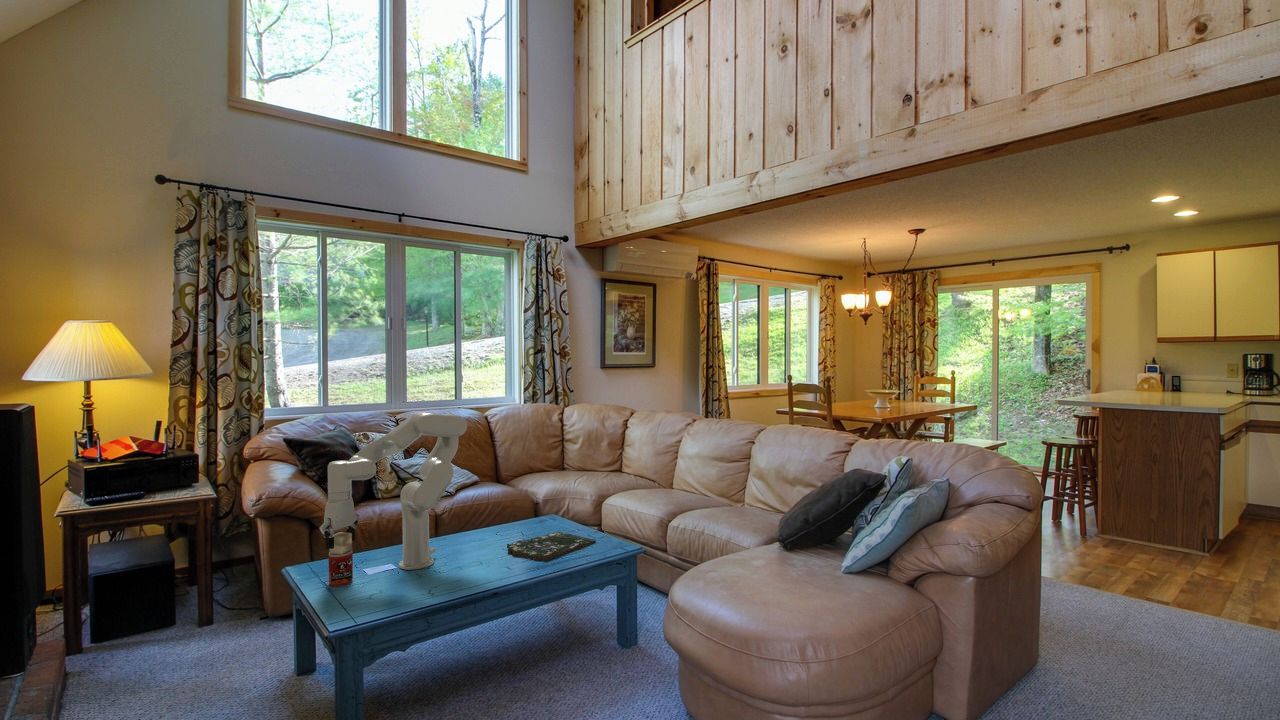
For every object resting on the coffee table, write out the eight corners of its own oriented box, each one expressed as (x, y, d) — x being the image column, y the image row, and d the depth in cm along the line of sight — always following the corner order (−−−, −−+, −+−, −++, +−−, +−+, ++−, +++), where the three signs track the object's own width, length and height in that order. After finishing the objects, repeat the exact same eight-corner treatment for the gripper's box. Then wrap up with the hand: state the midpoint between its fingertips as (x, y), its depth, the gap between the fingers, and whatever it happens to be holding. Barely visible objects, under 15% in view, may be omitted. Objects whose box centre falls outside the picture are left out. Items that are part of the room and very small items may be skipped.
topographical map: (595, 543, 258) (595, 536, 258) (539, 565, 232) (539, 557, 232) (552, 533, 273) (552, 527, 273) (495, 552, 247) (495, 545, 247)
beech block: (340, 548, 218) (340, 532, 218) (351, 549, 216) (351, 533, 216) (329, 553, 213) (329, 536, 213) (341, 554, 211) (340, 537, 211)
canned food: (329, 588, 209) (329, 556, 209) (327, 581, 216) (327, 550, 216) (354, 583, 213) (353, 552, 213) (351, 577, 220) (351, 546, 220)
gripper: (349, 490, 224) (350, 536, 224) (311, 500, 207) (312, 550, 207) (366, 491, 222) (366, 538, 222) (329, 502, 205) (330, 552, 205)
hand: (340, 544), depth 214 cm, fingers open, 9 cm apart
